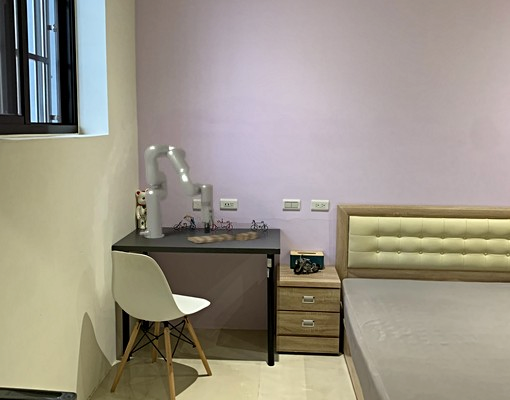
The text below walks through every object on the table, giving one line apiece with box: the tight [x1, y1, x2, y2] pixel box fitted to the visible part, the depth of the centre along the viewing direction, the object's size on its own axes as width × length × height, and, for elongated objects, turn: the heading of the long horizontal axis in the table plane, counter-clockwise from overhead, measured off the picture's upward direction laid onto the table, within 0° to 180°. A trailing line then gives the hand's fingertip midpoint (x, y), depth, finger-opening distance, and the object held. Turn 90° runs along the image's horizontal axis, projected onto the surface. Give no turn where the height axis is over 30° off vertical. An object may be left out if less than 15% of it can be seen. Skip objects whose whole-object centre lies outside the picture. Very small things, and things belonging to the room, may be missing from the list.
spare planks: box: [235, 231, 259, 242], centre depth 367 cm, size 15×7×3 cm, turn 134°
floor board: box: [208, 233, 237, 243], centre depth 365 cm, size 14×12×2 cm
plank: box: [187, 235, 218, 244], centre depth 357 cm, size 14×12×2 cm
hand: (207, 233), depth 358 cm, fingers closed
